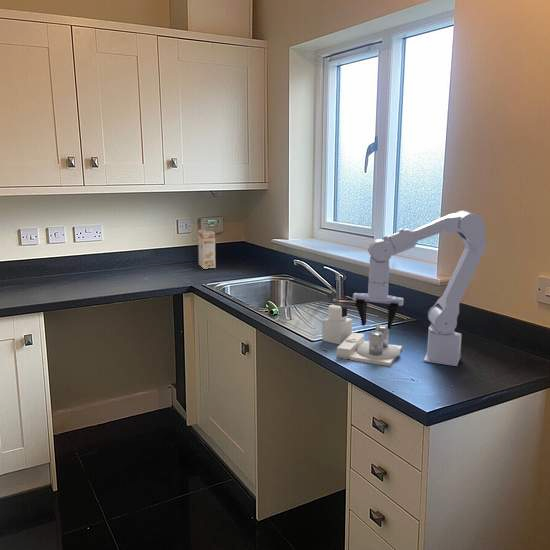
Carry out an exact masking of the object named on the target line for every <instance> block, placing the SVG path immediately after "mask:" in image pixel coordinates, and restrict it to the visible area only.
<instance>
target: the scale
mask: <svg viewBox="0 0 550 550" xmlns="http://www.w3.org/2000/svg"><path fill="white" fill-rule="evenodd" d="M365 335H366V334H365V333H361V332H359V333H358V332H352V334H351V335H350V336H349V337H348V338H346V339H345V340H344V341H343V342H342V343H341V344H340V345H338V346H337V348H336V358H337V357H338V358H337V359H341V358H344V359H343V360H347V359H350V360H349V361H353V360H354V361H353V362H360V363H367V364H374V365H379V366H385V367H386V366H387V367H391V366H392V364H393V363H394V361H395V360H396V359H397V357H400V355H401V351H402V350H403V346H402V345H398V344H389V343H388V347H386V348H383V353H382V355H378V356H375V355H371V354H369V340H365V338H366V337H365Z"/></svg>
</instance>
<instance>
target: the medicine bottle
mask: <svg viewBox="0 0 550 550" xmlns="http://www.w3.org/2000/svg"><path fill="white" fill-rule="evenodd" d="M327 313H328V314H327V315H328V317H326V318H325V319H322V332H321V333H322V334H321V335H322V336H321V338H322V339H321V340H322V341H323V340H324V341H323V342H326V341H327V343H330V342H331V344H334V343H335V345H338V344H339V345H340V344H341V343H342V342H343V341H344V340H345V339H346V338H348V337H349V336H350V335H351V334H352V333H353V318H350V317H349V318H348V306H347V305H346V304H343V303H332V304H329V305H328V312H327ZM339 345H338V346H339Z"/></svg>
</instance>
